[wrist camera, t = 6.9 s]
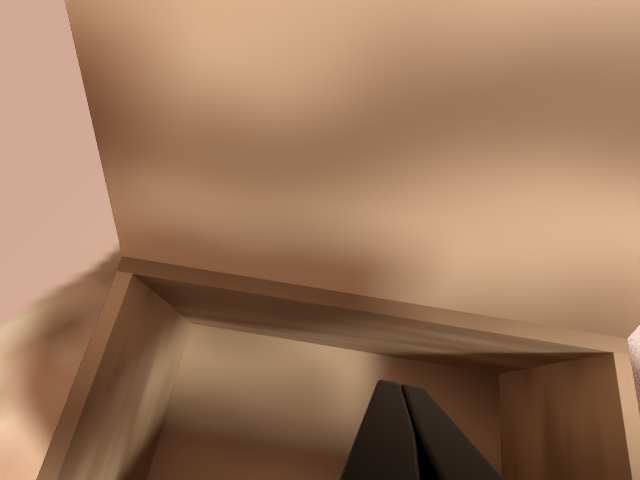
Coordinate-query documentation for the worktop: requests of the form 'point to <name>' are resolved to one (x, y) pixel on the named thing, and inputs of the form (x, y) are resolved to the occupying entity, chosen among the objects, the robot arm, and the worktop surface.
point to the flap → (379, 147)
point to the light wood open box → (326, 383)
